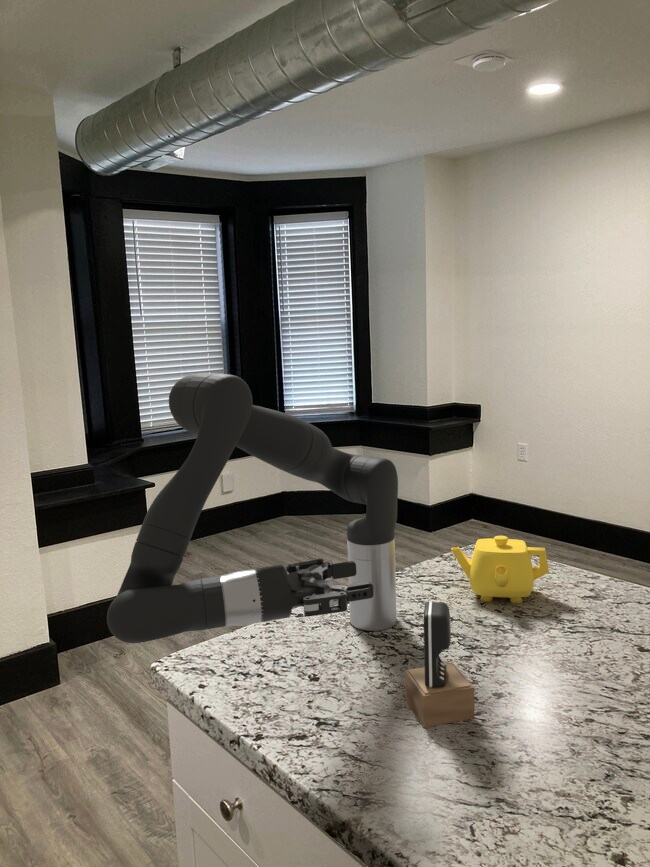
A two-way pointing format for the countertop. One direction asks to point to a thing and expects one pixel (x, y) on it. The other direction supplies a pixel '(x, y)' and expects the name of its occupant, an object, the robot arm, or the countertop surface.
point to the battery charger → (436, 642)
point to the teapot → (502, 568)
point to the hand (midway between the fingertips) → (363, 578)
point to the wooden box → (439, 697)
